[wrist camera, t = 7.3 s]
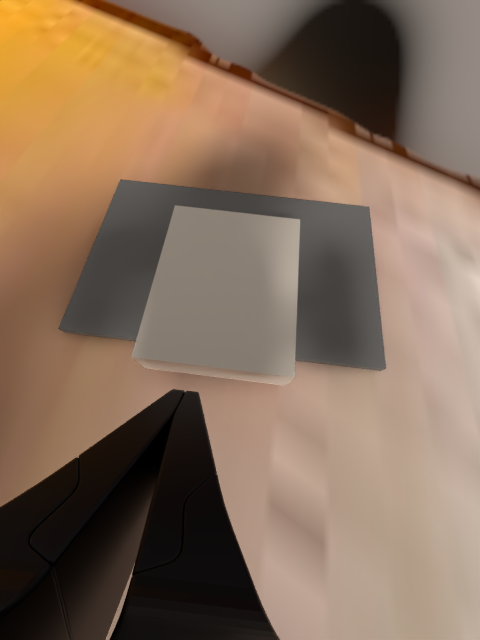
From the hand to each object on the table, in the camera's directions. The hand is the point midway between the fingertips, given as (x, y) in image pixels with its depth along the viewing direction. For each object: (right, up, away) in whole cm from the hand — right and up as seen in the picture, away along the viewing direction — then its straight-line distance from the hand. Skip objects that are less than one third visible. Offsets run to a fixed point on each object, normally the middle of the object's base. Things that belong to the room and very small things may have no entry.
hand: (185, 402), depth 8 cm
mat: (+1, +7, +11) cm, 13 cm away
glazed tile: (0, 0, +6) cm, 6 cm away
